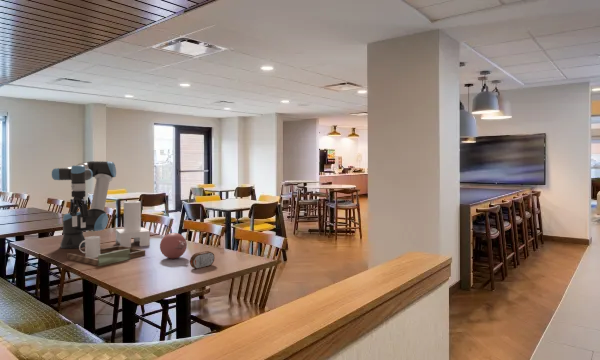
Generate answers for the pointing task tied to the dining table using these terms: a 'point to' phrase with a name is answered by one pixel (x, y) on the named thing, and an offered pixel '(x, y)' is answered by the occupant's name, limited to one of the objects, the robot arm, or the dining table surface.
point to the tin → (202, 259)
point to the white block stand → (132, 226)
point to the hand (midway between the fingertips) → (78, 227)
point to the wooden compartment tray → (109, 255)
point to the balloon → (173, 245)
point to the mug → (91, 246)
